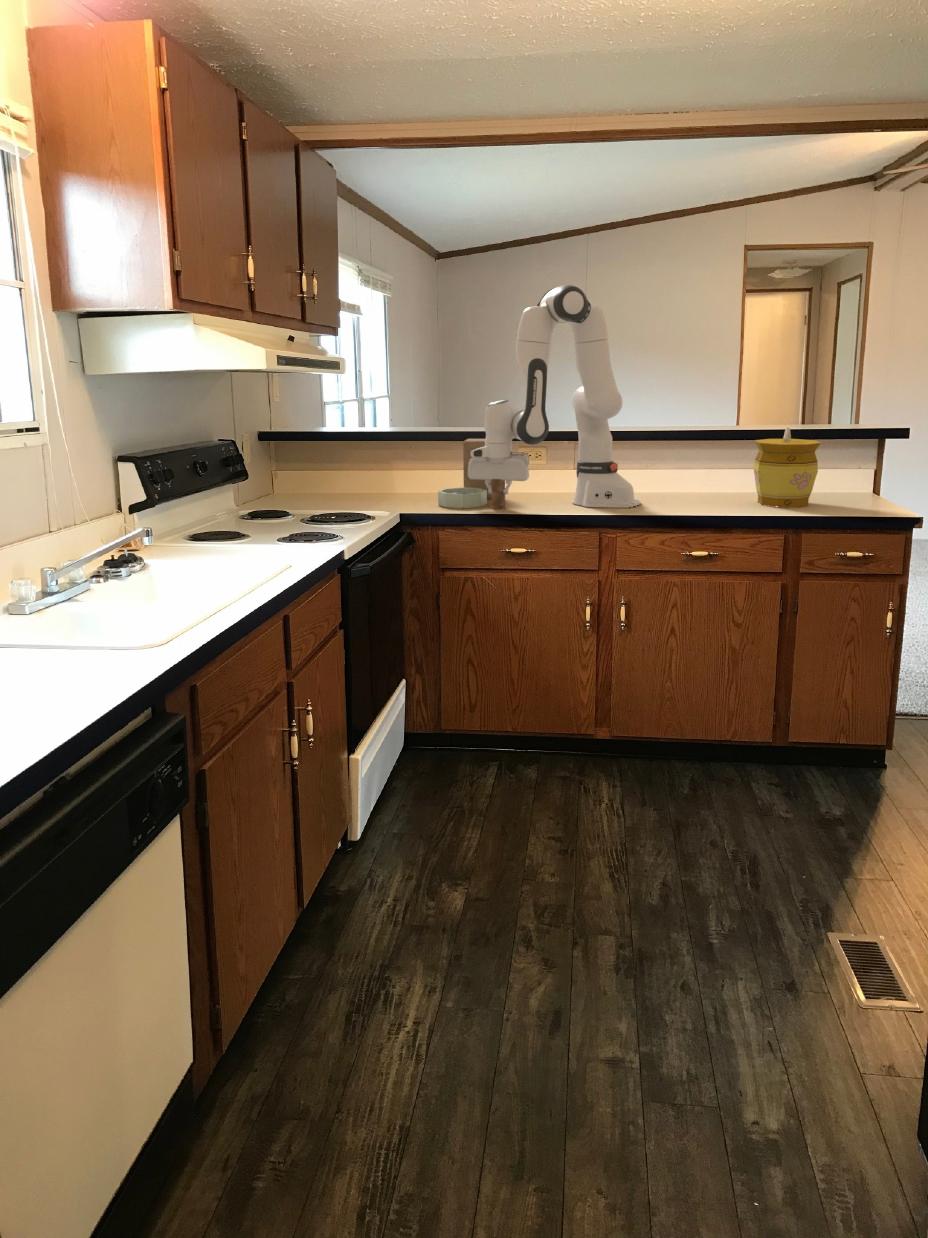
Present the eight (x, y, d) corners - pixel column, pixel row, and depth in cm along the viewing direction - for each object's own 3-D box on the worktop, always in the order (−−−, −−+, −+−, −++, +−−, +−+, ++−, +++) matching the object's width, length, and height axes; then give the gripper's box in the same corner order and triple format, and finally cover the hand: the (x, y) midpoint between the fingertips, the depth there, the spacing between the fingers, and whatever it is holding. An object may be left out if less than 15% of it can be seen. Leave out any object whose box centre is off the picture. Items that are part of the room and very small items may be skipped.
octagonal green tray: (490, 501, 339) (490, 488, 337) (476, 508, 325) (476, 494, 324) (449, 500, 344) (449, 486, 342) (433, 506, 330) (433, 492, 329)
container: (743, 506, 324) (748, 428, 317) (756, 497, 342) (762, 424, 335) (810, 510, 314) (817, 430, 308) (820, 501, 332) (827, 425, 326)
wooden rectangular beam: (505, 507, 327) (505, 470, 324) (501, 508, 324) (501, 472, 321) (494, 506, 328) (494, 470, 325) (491, 508, 325) (491, 471, 322)
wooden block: (491, 499, 345) (491, 441, 340) (463, 498, 347) (462, 441, 341) (495, 495, 355) (495, 438, 349) (467, 494, 356) (467, 438, 351)
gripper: (531, 451, 321) (531, 493, 324) (472, 449, 327) (472, 491, 331) (526, 453, 315) (526, 496, 319) (465, 451, 322) (466, 493, 325)
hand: (498, 493), depth 325 cm, fingers closed on wooden rectangular beam, 3 cm apart
